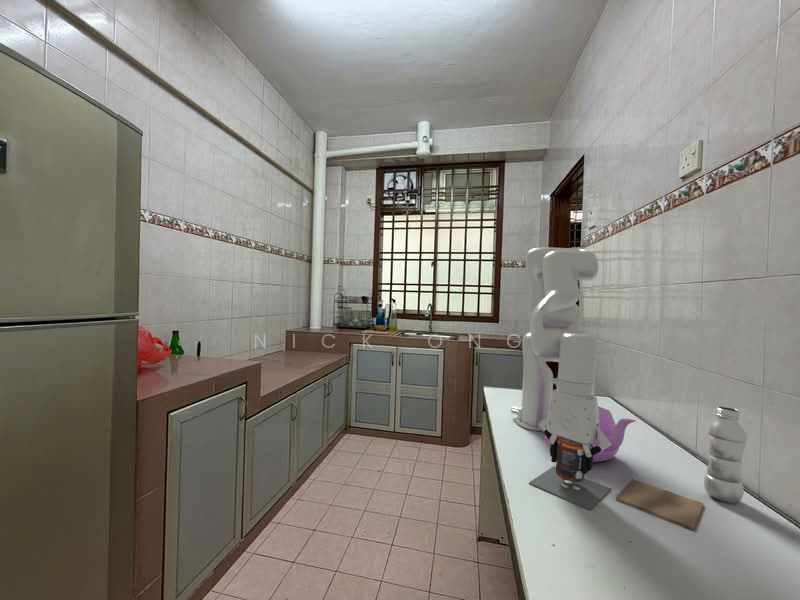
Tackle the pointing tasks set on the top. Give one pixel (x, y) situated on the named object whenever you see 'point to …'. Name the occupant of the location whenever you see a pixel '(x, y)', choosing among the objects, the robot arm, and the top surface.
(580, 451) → the supplement bottle
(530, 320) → the robot arm
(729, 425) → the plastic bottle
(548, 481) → the dot mat
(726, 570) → the top surface
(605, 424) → the teapot
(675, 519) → the walnut board
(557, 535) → the top surface
